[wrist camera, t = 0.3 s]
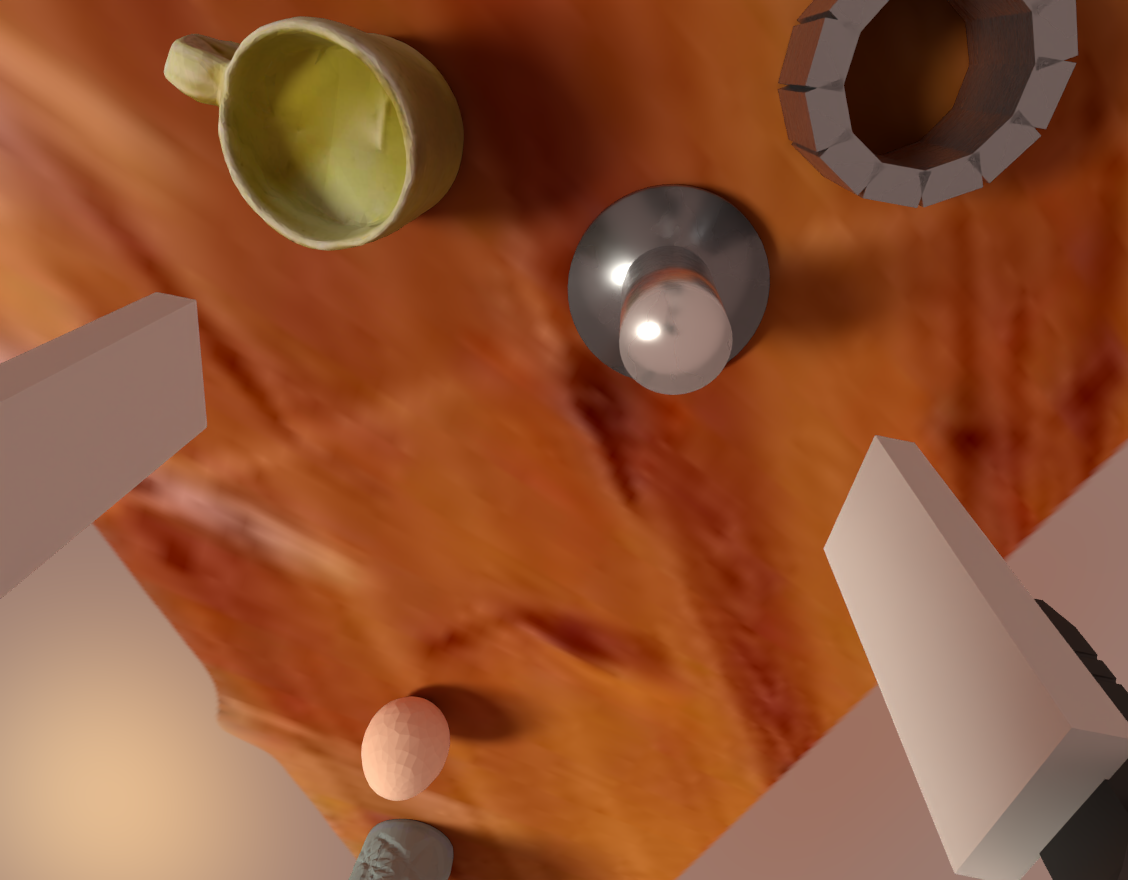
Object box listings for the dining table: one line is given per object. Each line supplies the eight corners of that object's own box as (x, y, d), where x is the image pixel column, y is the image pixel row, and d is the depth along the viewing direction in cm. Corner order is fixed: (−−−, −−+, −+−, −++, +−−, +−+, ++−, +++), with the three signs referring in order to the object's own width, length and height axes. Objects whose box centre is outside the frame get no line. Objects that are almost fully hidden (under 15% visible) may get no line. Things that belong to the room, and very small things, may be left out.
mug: (535, 97, 33) (413, 144, 26) (446, 247, 40) (331, 316, 33) (341, -89, 32) (158, -96, 25) (286, 97, 39) (130, 134, 32)
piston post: (587, 166, 36) (574, 194, 28) (794, 204, 36) (839, 242, 28) (555, 360, 41) (537, 428, 33) (735, 392, 41) (760, 469, 33)
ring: (821, -73, 30) (860, -103, 25) (1043, -33, 30) (1130, -55, 25) (755, 165, 35) (776, 182, 30) (947, 200, 35) (1002, 223, 30)
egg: (425, 743, 59) (397, 833, 52) (364, 702, 57) (327, 789, 50) (475, 709, 56) (453, 799, 50) (413, 664, 55) (381, 751, 48)
